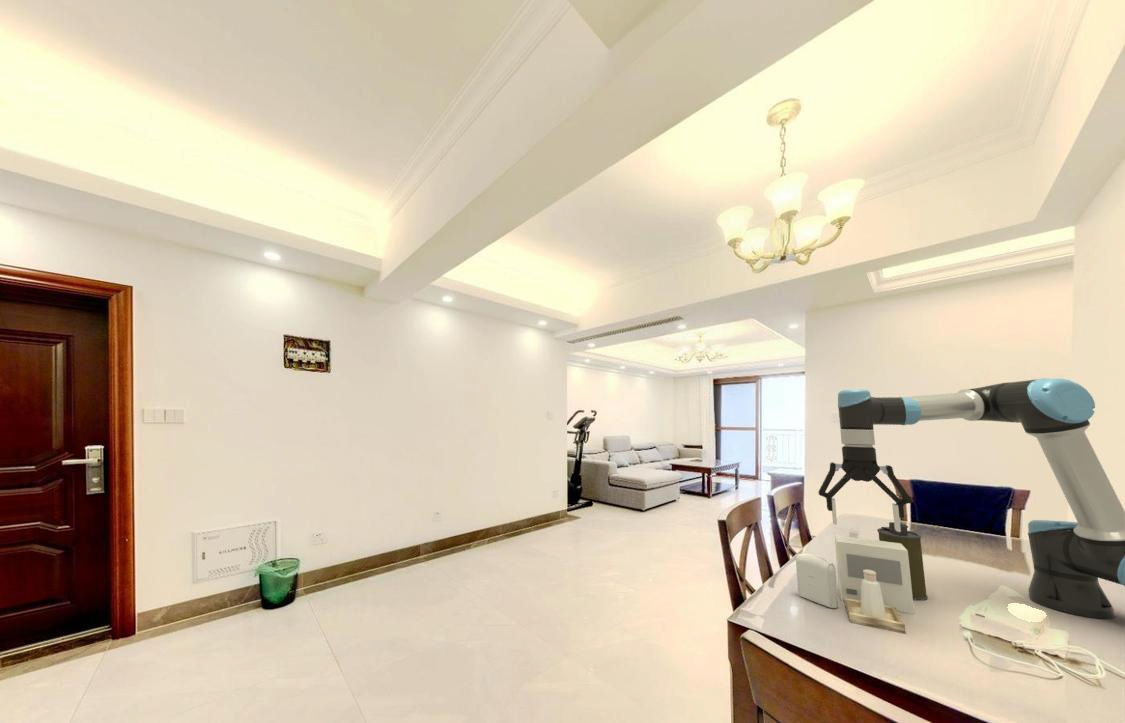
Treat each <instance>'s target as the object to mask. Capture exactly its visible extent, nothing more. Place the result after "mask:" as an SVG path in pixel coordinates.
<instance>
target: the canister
mask: <svg viewBox="0 0 1125 723" xmlns="http://www.w3.org/2000/svg"><path fill="white" fill-rule="evenodd" d="M900 528H901V532H897V531H896V530H895V526H894V521H891V522H888V526H881V528H878V529H877V532H878V541H885V542H893V543H901V544H902V545H903V546H904V547H905V548H906V549H907V550H908V558H909V567H910V577H911V587H912V596H913V601H926V600H928V598H929V596H928V595H927V589H926V588H927V587H926V578H925V569H924V567H925V566H924V560H923V548H922V541H921V538H922V535H921V534H920V533H917V532H914V531H911V530H910V531H909V530H908V528H909V526H908V525H907V524H904V523H902V522H900Z"/></svg>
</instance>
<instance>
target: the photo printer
mask: <svg viewBox="0 0 1125 723" xmlns="http://www.w3.org/2000/svg"><path fill="white" fill-rule="evenodd" d="M795 562H796V565H795V566H796V576H797V577H796V579H797V592H798V596H800V597H802V598H805V599H807V600H808V601H811V602H814V603H816V604H819V605H822V606H823V607H828V608H830V609H837V608H838V606H839V596H838V585H837V574H836V572H837V571H836V568H835V564H834V563H833V562H831V561H830V560H828V559H826V558H825V557H822V556H820V555H818V554H814V553H807V552H806V553H805V552H804V553H803V552H802V553H798V554H797V555H796V561H795Z"/></svg>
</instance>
